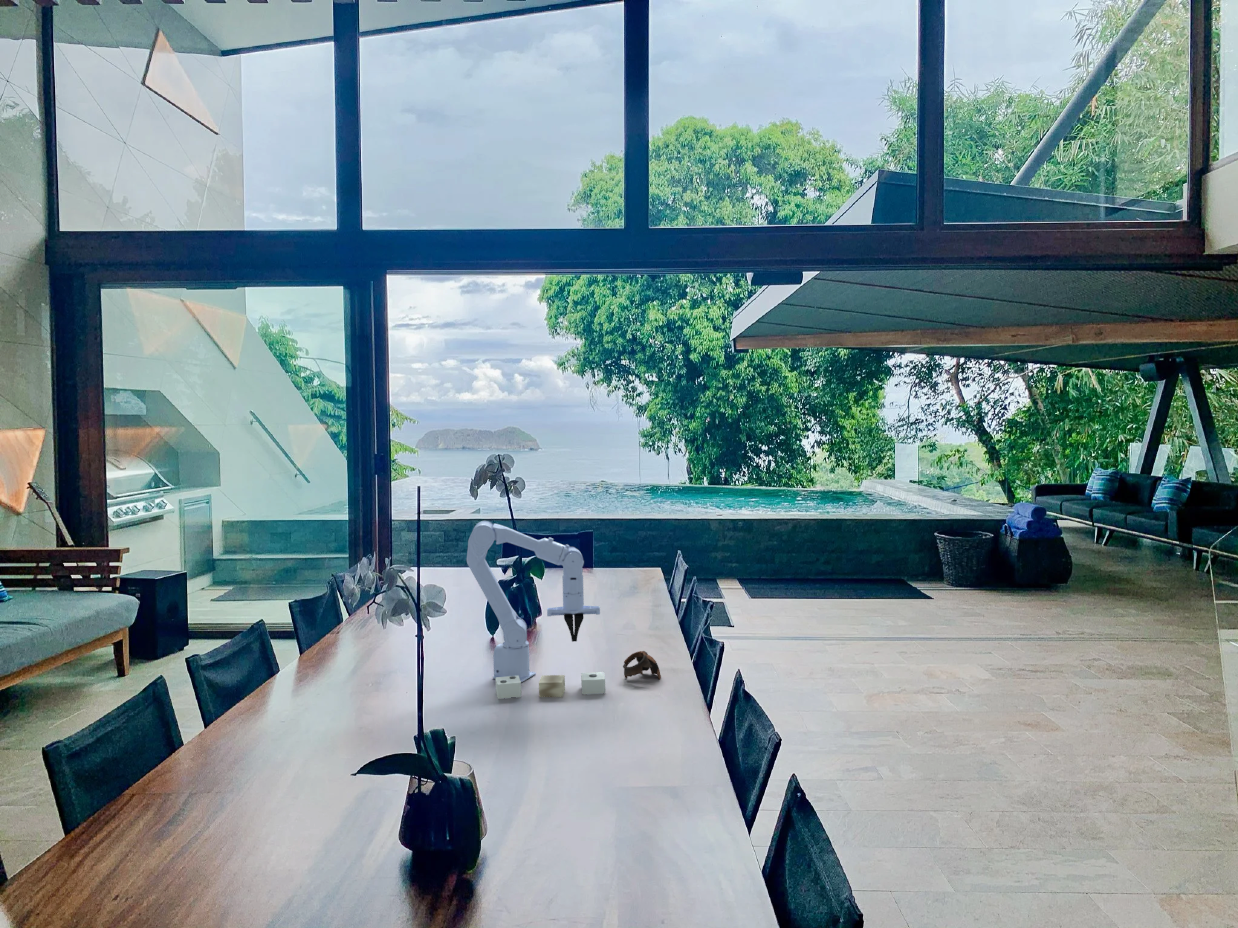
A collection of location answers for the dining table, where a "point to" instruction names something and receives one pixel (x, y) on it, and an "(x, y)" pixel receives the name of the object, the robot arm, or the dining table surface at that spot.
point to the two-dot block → (508, 687)
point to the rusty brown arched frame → (641, 664)
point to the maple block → (552, 686)
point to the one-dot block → (593, 683)
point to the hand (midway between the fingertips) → (574, 640)
